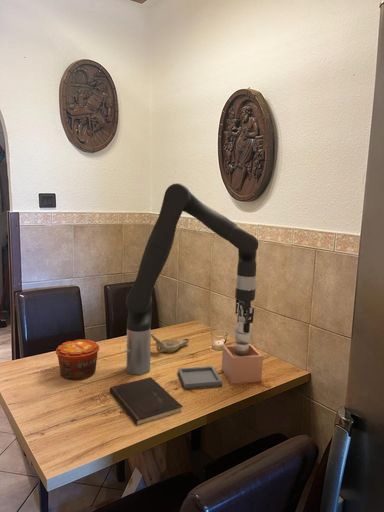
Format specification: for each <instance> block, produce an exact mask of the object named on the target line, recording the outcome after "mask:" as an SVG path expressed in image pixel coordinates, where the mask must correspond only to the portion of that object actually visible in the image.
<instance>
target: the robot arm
mask: <svg viewBox="0 0 384 512" xmlns="http://www.w3.org/2000/svg"><path fill="white" fill-rule="evenodd" d="M183 212H184V213H186V214H189V215H190V216H191V217H193V218H195V219H196V220H198V221H199V222H200V223H202V224H203V225H204V226H206V228H208V229H209V230H211V232H213V233H215V234H216V235H218V236H219V237H221V238H222V239H223V240H226V241H228V242H229V243H230V244H231V245H233V246H234V247H235V248H236V249H238V251H237V252H238V261H237V267H236V270H237V271H236V279H235V291H234V292H235V293H234V298H235V309H234V312H235V315H236V317H237V319H236V320H237V321H236V324H237V323H238V322H239V320H238V319H239V315H241V314H242V317H243V319H244V327H243V332H244V333H249V330H250V327H251V324H253V322H254V315H255V308H254V307H252V303H251V302H253V301H255V300H256V287H257V261H256V259H257V258H256V257H257V250H258V248H259V241H258V239H257V237H256V236H255V235H253V234H251V233H249V232H247V231H245V230H244V229H243V228H241V227H239V225H238V224H236V223H235V222H233V220H230V219H229V218H228V217H226V216H225V215H223V214H221V213H219V212H218V211H216V210H215V209H213V208H211V207H209V206H208V205H206V204H205V203H203V202H202V201H201V200H199V198H198V197H196V196H195V195H194V194H193V193H192V192H191V191H190V190H189V188H188V187H186V186H185V185H184V184H182V183H172V184H170V185H169V186H168V187H167V188H166V189H165V192H164V194H163V200H162V204H161V207H160V211H159V214H158V217H157V220H156V222H155V223H154V226H153V228H152V230H151V232H150V235H149V237H148V240H147V243H146V246H145V247H144V251H143V253H142V257H141V261H140V264H139V268H138V272H137V275H136V278H135V280H134V282H133V285H132V287H131V288H130V291H129V292H128V294H127V296H126V299H125V304H126V305H125V306H126V308H127V309H128V311H127V313H128V314H127V319H126V320H127V321H126V346H125V347H126V348H125V349H126V351H125V352H126V355H125V356H126V359H125V360H126V374H131V375H145V374H148V373H149V372H150V370H151V346H152V345H151V337H152V336H151V334H152V332H151V328H152V327H151V326H152V317H153V316H152V315H153V297H152V294H153V291H154V287H155V285H156V282H157V280H158V278H159V276H160V274H161V273H162V271H163V270H164V268H165V265H166V263H167V260H168V258H169V256H170V253H171V250H172V248H173V244H174V240H175V236H176V230H177V226H178V222H179V221H180V218H181V216H182V214H183Z"/></svg>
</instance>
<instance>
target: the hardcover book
mask: <svg viewBox="0 0 384 512" xmlns="http://www.w3.org/2000/svg"><path fill="white" fill-rule="evenodd" d="M109 393H110V394H111V395H112V397H113V398H114V400H115V401H116V402H117V403H118V405H120V407H121V408H122V409H123V410H124V412H125V413H126V415H127V416H128V417H129V418H130V419H131V421H132V422H133V423H134V425H136V426H138V425H141V424H144V423H148V422H151V421H154V420H157V419H160V418H163V417H166V416H170V415H173V414H176V413H180V412H182V408H183V405H182V404H181V403H180V402H179V401H177V400H176V399H175V398H174V397H173V396H172V395H171V394H170V393H169V392H168V391H166V390H165V388H163V387H162V386H161V385H160V384H159V383H158V382H157V381H156V380H155V379H154V378H153V377H151V376H149V377H145V378H141V379H138V380H134V381H130V382H129V381H128V382H126V383H121V384H117V385H113V386H111V387H109Z"/></svg>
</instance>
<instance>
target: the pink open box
mask: <svg viewBox="0 0 384 512" xmlns="http://www.w3.org/2000/svg"><path fill="white" fill-rule="evenodd" d="M234 350H235V344H233V345H232V344H231V345H222V354H221V357H222V359H221V370H222V372H223V374H224V375H225V377H226V378H227V380H228V381H229V382H230V384H232V385H233V384H244V383H253V382H254V383H255V382H262V381H263V380H262V378H263V376H262V375H263V363H264V358H263V357H264V356H263V354H261V352H259V351H258V350H257V348H255V347H254V346H253V344H250V343H249V356H239V357H234V356H233V355H234Z"/></svg>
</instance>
